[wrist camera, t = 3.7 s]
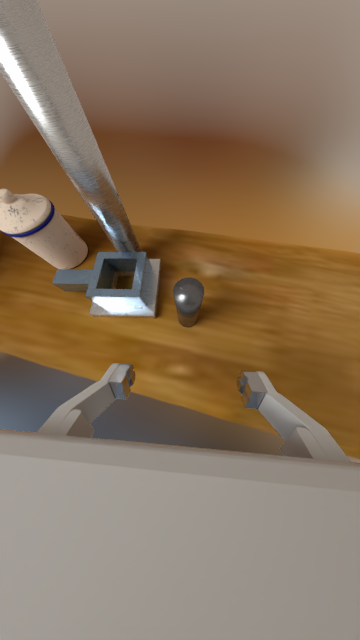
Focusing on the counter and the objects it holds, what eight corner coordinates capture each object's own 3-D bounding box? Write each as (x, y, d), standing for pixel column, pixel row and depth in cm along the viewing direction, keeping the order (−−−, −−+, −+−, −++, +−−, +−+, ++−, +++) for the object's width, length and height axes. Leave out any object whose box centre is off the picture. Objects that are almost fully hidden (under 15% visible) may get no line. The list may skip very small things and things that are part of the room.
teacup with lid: (96, 243, 30) (44, 175, 19) (78, 274, 28) (6, 219, 17) (53, 235, 32) (-18, 168, 21) (33, 264, 29) (-62, 207, 18)
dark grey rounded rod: (178, 327, 23) (172, 304, 14) (179, 309, 24) (174, 277, 15) (197, 327, 23) (204, 305, 14) (197, 310, 24) (203, 277, 15)
